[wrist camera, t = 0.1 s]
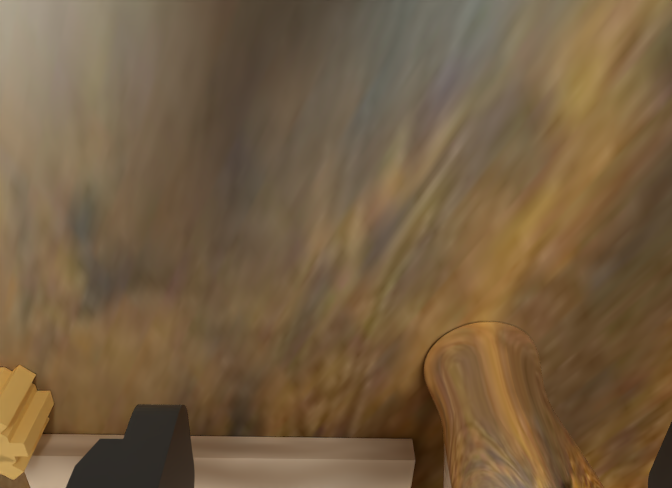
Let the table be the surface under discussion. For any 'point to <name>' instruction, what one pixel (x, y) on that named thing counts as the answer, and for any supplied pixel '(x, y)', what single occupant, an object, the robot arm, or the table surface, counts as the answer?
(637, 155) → the table surface
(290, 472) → the gear board
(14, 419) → the gear
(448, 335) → the beer glass
